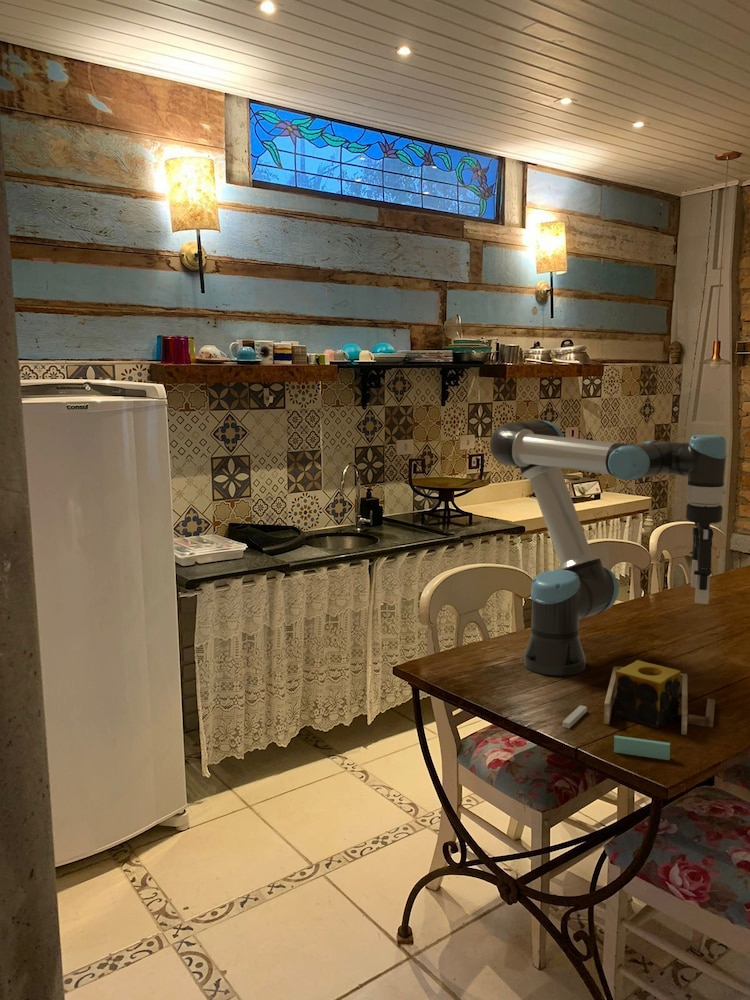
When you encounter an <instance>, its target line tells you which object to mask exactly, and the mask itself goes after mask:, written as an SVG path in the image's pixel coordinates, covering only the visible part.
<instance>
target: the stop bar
mask: <svg viewBox="0 0 750 1000" xmlns="http://www.w3.org/2000/svg"><path fill="white" fill-rule="evenodd" d="M613 753H617V754H623V755H631V756H636V757H645V758H651V759H658V760H664V761H670V757H671V756H670V755H671V742H665V741H659V740H650V739H645V738H636V737H629V736H628V737H627V736H622V735H614V736H613Z"/></svg>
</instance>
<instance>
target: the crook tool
mask: <svg viewBox="0 0 750 1000" xmlns="http://www.w3.org/2000/svg"><path fill="white" fill-rule="evenodd" d="M715 707H716V699H714V698H707V702H706V709H705V716H701V715H695V714H688V715H687V725H695V726H700V727H701V726H702V727H707V728H708V727H709V728H713V727H714V719H715V718H714V717H715V709H716V708H715Z"/></svg>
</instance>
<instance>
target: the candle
mask: <svg viewBox="0 0 750 1000" xmlns="http://www.w3.org/2000/svg"><path fill="white" fill-rule="evenodd" d="M622 667H623V668H621V669H619V670H617V671H616V684H617V691H616V696H615V698H614V705H613V707H614V708H613V715H614V716H615V717H616V716H617V717H619V718H622V719H625V720H628V721H631V722H636V723H638V724H641V725H646V726H648V727H651V728H656V729H659V728H660V727H662V726H664V725H665V724H667V723H668V722H670V721H671V720H673V719H674V718H675V717H677V716H679V714H680V712H679V707H680V701H679V700H680V699H679V697H680V696H679V695H680V694H679V687H680V678H681V670H679V669H676V668H671V667H667V666H663V665H659V664H655V663H650V662H646V661H642V660H640V659H637V660H635V661H633V662H632V663H630V664H627V665H626V666H622Z"/></svg>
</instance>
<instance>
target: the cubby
mask: <svg viewBox="0 0 750 1000" xmlns="http://www.w3.org/2000/svg"><path fill="white" fill-rule="evenodd" d="M623 667H624V666H613V668H612V672H611V677H610V679H609V684H608V688H607V692H606V695H605V701H604V706H603V707H604V708H603V710H604V711H603V713H604V714H603V725H610V722H611V717H612V712H613V710H614V708H613V707H614V705H615V704H614V703H615V701H614V698H615V696H616V691H617V684H616V671H617V670H619V669H621V668H623ZM679 695H681V723H680V724H681V725H680V726H681V727H680V728H681V729H680V731H681V732H680V733H681V735H686V736H687V734H688V673H681V678H680V687H679Z"/></svg>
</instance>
